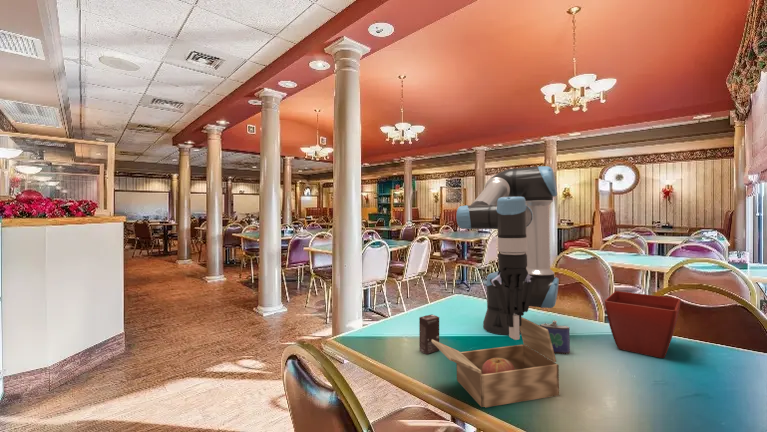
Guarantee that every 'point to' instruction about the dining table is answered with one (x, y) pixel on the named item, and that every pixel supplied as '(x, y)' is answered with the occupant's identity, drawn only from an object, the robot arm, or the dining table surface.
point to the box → (428, 333)
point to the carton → (509, 376)
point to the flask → (559, 337)
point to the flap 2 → (537, 338)
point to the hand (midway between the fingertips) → (514, 337)
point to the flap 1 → (455, 356)
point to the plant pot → (642, 322)
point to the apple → (497, 366)
